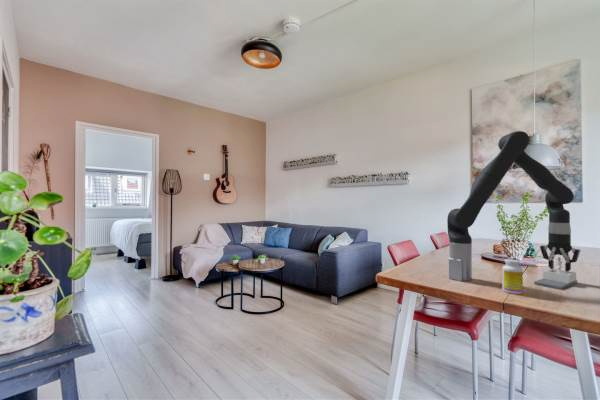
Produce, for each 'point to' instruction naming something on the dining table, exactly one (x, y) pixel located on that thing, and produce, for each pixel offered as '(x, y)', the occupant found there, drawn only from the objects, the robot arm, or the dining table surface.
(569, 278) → the end cap plate
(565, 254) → the robot arm
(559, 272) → the chess piece
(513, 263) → the supplement bottle
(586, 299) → the dining table surface
